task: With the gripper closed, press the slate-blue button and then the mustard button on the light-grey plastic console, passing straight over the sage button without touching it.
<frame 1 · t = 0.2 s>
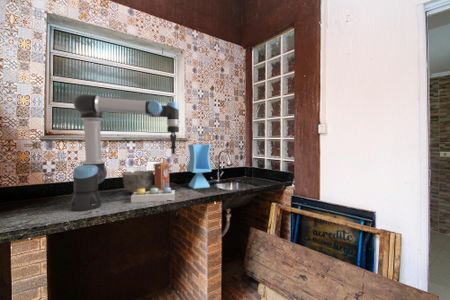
hand: (173, 158, 150), 26 cm above the worktop, fingers open, 13 cm apart
planter: (199, 186, 187), on the worktop
button mustard: (140, 191, 143), point 5 cm above the worktop, slide at 0.0 cm
button blue: (166, 190, 147), point 5 cm above the worktop, slide at 0.0 cm
bowl: (138, 192, 165), on the worktop
console: (154, 199, 145), on the worktop
cracker box: (162, 192, 167), on the worktop
button sage: (154, 191, 145), point 5 cm above the worktop, slide at 0.0 cm
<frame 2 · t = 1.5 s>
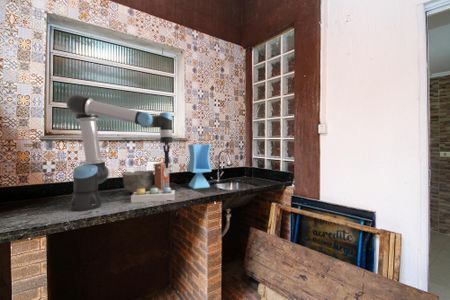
hand: (167, 172, 146), 17 cm above the worktop, fingers closed
nothing on the worktop moved.
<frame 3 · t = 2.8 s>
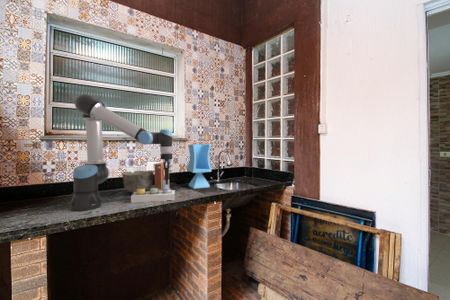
hand: (167, 189, 147), 6 cm above the worktop, fingers closed
button blue: (166, 192, 147), point 4 cm above the worktop, slide at 1.1 cm, touching gripper
everything else where it was.
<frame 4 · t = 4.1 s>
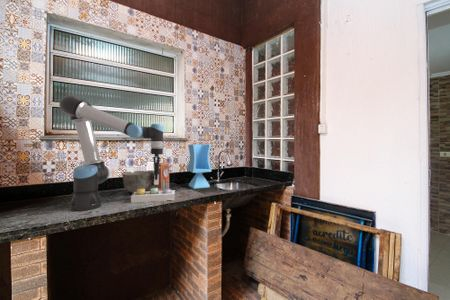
hand: (156, 184, 145), 10 cm above the worktop, fingers closed
button blue: (166, 192, 147), point 4 cm above the worktop, slide at 1.3 cm
everything else where it was.
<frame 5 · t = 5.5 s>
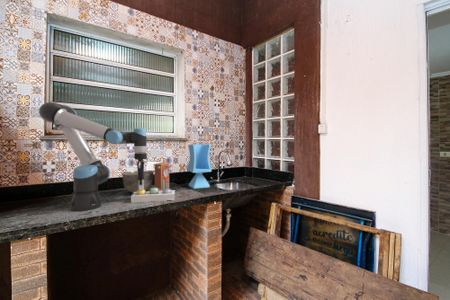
hand: (141, 189, 143), 7 cm above the worktop, fingers closed
button mustard: (141, 192, 143), point 5 cm above the worktop, slide at 0.8 cm, touching gripper
everything else where it was.
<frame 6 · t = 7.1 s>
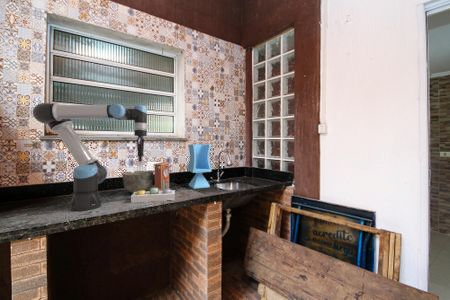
hand: (140, 166, 145), 21 cm above the worktop, fingers closed
button mustard: (141, 193, 143), point 4 cm above the worktop, slide at 1.3 cm
everything else where it was.
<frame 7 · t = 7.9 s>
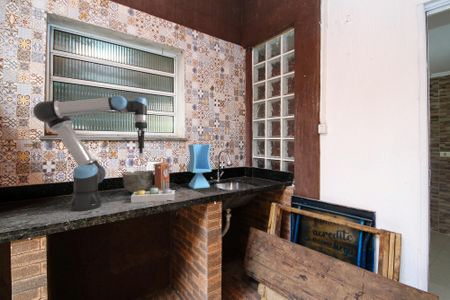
hand: (141, 158, 146), 26 cm above the worktop, fingers closed
nothing on the worktop moved.
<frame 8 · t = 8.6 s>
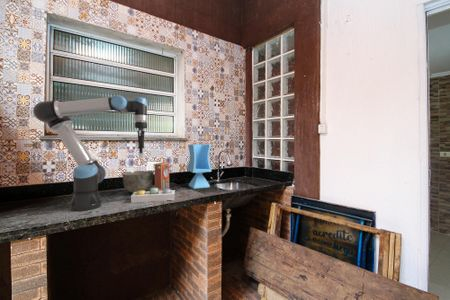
hand: (141, 158, 146), 26 cm above the worktop, fingers closed
nothing on the worktop moved.
at the end: button blue slide at 1.3 cm; button mustard slide at 1.3 cm; button sage slide at 0.0 cm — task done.
